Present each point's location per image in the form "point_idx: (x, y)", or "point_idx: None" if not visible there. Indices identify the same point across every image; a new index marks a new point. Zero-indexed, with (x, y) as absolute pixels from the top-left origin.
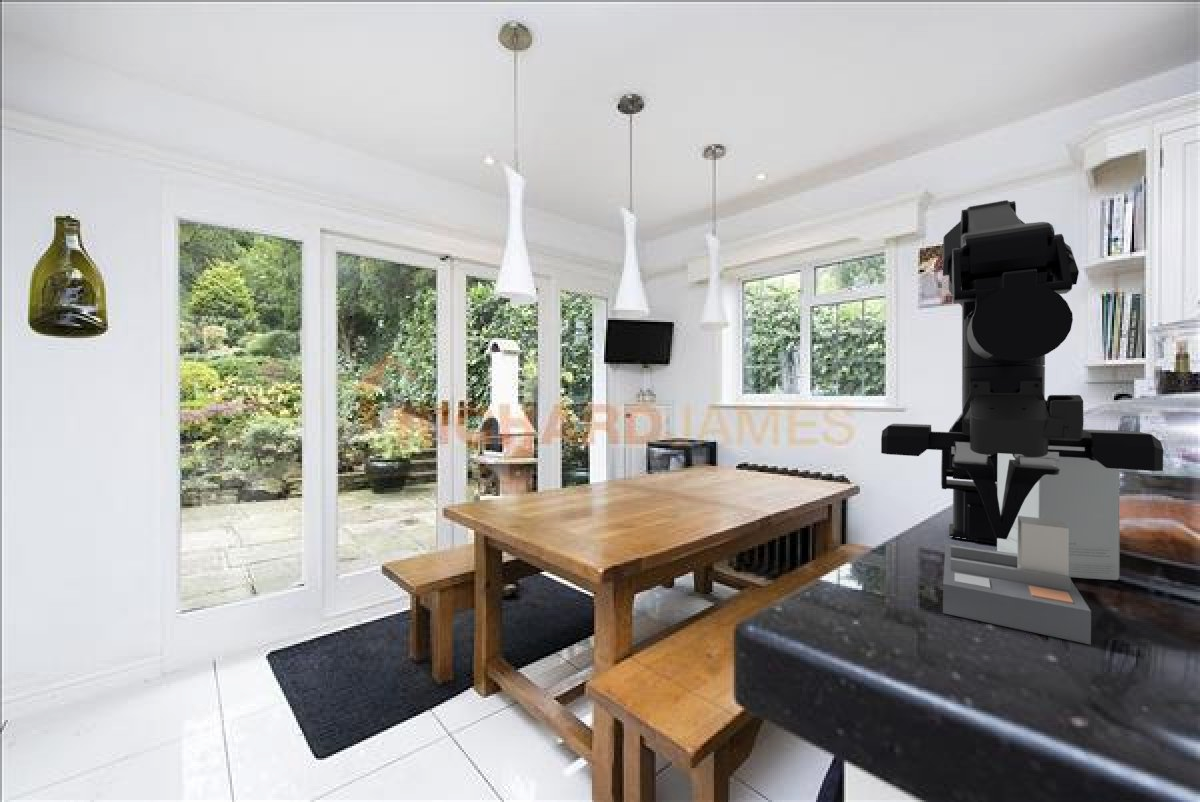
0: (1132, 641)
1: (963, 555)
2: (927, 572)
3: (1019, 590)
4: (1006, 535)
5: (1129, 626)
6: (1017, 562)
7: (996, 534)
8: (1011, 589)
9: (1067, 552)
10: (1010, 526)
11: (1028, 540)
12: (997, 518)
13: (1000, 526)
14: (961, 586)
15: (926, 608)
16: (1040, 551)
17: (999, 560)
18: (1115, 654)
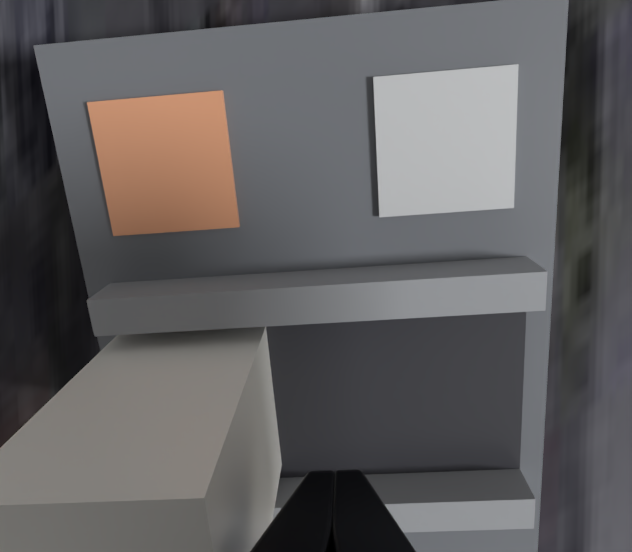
0: (13, 191)
1: (474, 479)
2: (559, 461)
3: (268, 144)
4: (308, 481)
5: (26, 321)
6: (279, 476)
7: (358, 477)
8: (296, 134)
9: (45, 408)
10: (281, 519)
11: (197, 419)
12: (358, 547)
13: (338, 510)
14: (489, 11)
15: (573, 37)
16: (161, 395)
17: None
18: (41, 29)
